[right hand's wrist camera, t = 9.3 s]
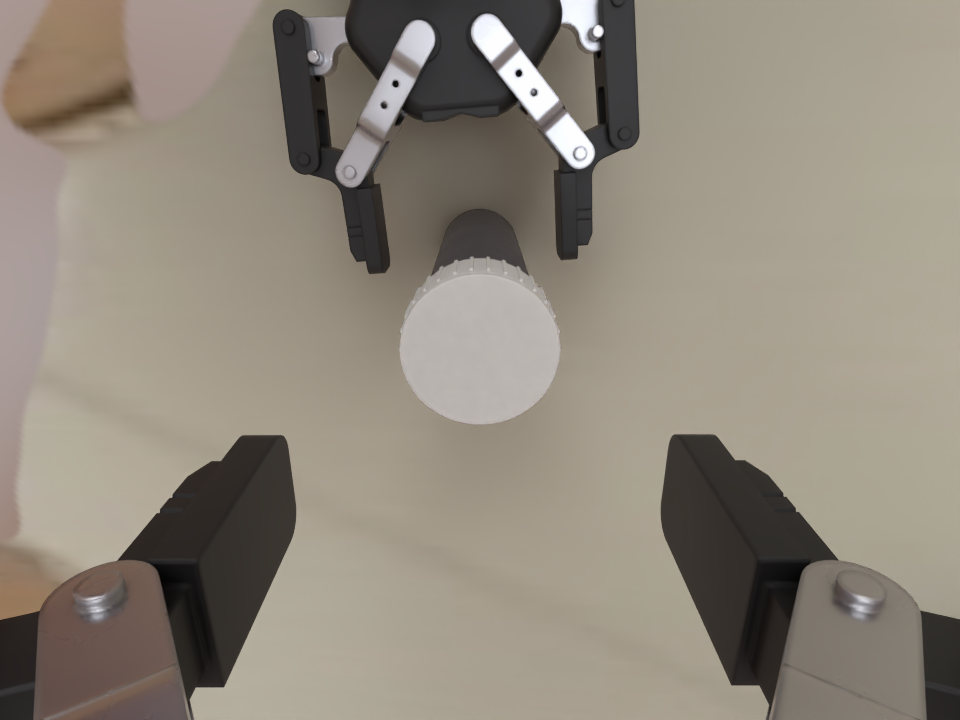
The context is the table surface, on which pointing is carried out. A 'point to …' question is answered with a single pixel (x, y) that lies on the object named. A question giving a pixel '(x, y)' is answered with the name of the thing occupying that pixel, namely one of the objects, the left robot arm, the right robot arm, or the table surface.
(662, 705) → the table surface
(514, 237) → the dark cylinder
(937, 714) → the right robot arm
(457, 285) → the lid
